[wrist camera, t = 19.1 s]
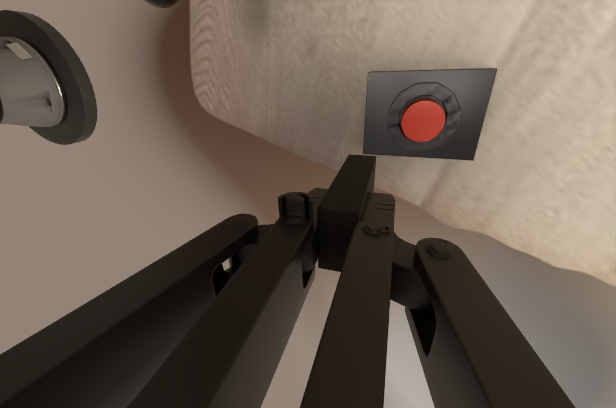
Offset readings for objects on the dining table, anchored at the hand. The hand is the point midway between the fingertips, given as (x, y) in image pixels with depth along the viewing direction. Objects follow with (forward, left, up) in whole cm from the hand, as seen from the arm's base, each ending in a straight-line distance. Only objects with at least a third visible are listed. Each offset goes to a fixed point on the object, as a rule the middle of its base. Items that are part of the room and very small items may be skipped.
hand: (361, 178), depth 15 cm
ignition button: (+4, -1, -17) cm, 17 cm away
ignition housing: (+4, -1, -20) cm, 21 cm away
